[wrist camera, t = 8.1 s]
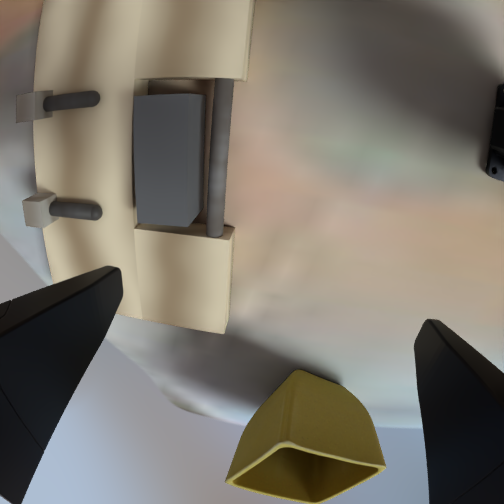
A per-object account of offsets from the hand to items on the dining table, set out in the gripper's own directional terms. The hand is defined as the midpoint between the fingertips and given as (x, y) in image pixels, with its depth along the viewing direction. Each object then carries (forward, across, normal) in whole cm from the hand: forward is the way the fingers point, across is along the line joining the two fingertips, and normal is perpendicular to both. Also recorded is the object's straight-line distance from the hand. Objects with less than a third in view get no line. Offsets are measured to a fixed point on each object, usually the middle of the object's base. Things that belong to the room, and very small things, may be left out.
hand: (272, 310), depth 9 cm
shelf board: (+11, +10, -2) cm, 15 cm away
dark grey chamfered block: (+12, +7, -2) cm, 14 cm away
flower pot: (+12, -4, +17) cm, 21 cm away
